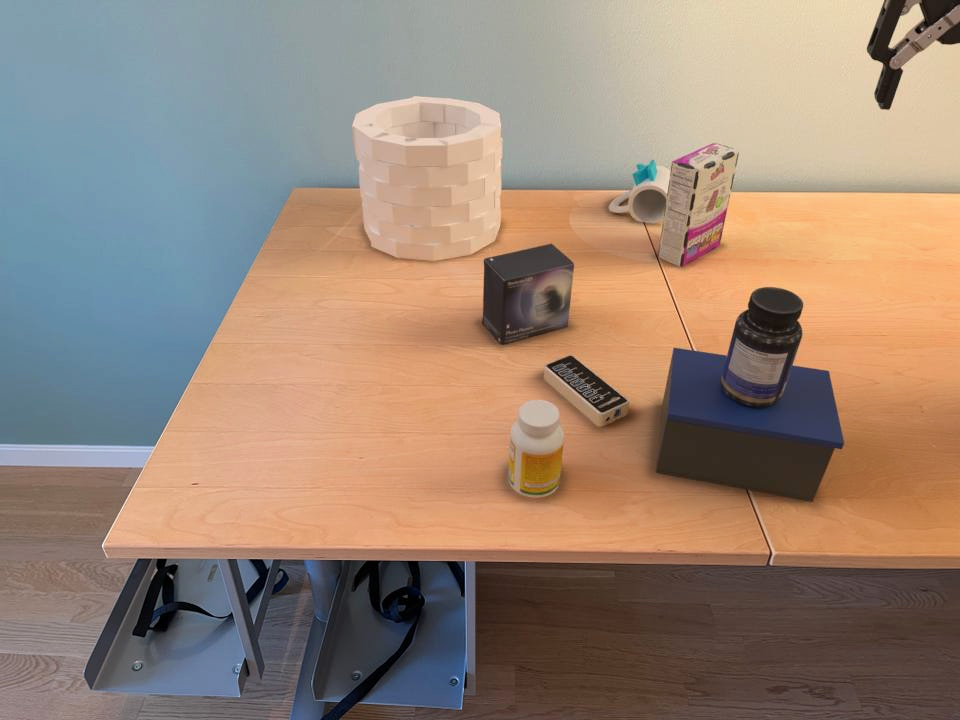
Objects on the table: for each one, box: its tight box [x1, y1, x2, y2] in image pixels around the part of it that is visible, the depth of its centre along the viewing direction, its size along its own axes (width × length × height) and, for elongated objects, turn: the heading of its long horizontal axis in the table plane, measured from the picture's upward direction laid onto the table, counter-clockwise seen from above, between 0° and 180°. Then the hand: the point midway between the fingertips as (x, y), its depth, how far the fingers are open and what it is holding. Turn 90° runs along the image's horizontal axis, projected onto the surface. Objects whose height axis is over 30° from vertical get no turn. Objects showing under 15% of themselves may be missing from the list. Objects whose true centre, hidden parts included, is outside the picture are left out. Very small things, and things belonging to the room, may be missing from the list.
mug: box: [608, 159, 671, 225], centre depth 125 cm, size 12×9×12 cm
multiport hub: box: [543, 354, 630, 428], centre depth 84 cm, size 4×11×2 cm, turn 32°
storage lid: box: [667, 347, 845, 450], centre depth 72 cm, size 16×12×1 cm
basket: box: [351, 95, 504, 262], centre depth 115 cm, size 25×24×19 cm
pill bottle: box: [721, 286, 804, 408], centre depth 68 cm, size 6×6×11 cm
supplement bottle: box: [508, 399, 565, 499], centre depth 70 cm, size 5×5×10 cm
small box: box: [481, 243, 575, 346], centre depth 93 cm, size 11×6×10 cm, turn 115°
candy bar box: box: [657, 142, 740, 268], centre depth 109 cm, size 11×5×16 cm, turn 132°
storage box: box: [655, 357, 836, 503], centre depth 74 cm, size 16×12×8 cm
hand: (931, 111), depth 67 cm, fingers open, 8 cm apart
